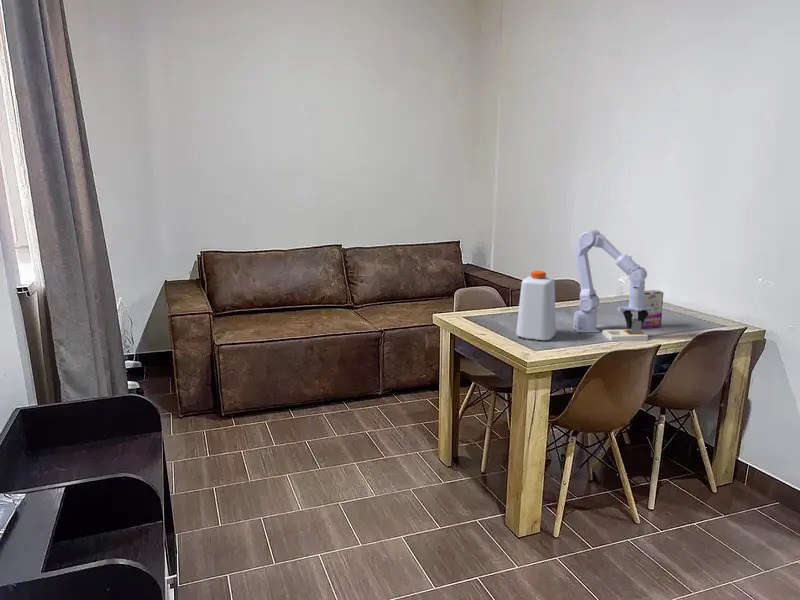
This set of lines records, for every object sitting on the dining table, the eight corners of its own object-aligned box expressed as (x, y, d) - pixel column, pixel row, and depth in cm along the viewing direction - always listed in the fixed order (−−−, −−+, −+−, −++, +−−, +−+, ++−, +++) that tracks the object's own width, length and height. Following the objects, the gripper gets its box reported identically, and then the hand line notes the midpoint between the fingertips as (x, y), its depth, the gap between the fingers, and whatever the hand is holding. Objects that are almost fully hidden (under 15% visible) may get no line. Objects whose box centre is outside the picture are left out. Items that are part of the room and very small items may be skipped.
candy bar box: (654, 324, 273) (657, 289, 269) (661, 327, 268) (664, 291, 265) (632, 326, 271) (634, 290, 267) (638, 329, 266) (641, 293, 263)
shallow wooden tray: (611, 341, 249) (611, 336, 249) (602, 334, 259) (602, 329, 258) (647, 340, 250) (648, 335, 249) (637, 333, 260) (637, 328, 259)
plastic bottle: (549, 343, 248) (552, 276, 242) (513, 338, 255) (515, 273, 248) (557, 333, 261) (560, 270, 255) (523, 329, 268) (525, 267, 261)
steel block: (631, 337, 252) (632, 321, 251) (627, 334, 256) (628, 318, 254) (640, 337, 252) (641, 321, 251) (636, 334, 256) (637, 318, 255)
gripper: (623, 299, 246) (621, 330, 249) (658, 298, 247) (655, 330, 250) (616, 295, 253) (614, 326, 256) (650, 294, 254) (647, 325, 257)
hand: (634, 327), depth 254 cm, fingers closed on steel block, 4 cm apart
